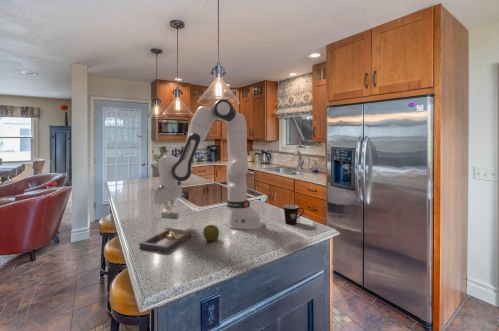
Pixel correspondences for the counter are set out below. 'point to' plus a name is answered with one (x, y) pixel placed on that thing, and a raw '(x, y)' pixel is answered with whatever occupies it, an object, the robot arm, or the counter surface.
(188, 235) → the walnut slot rails
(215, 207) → the counter surface
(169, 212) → the grey post with peg
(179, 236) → the brass chip
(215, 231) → the apple
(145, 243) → the grey angled bracket
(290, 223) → the coffee mug
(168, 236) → the brass chip
